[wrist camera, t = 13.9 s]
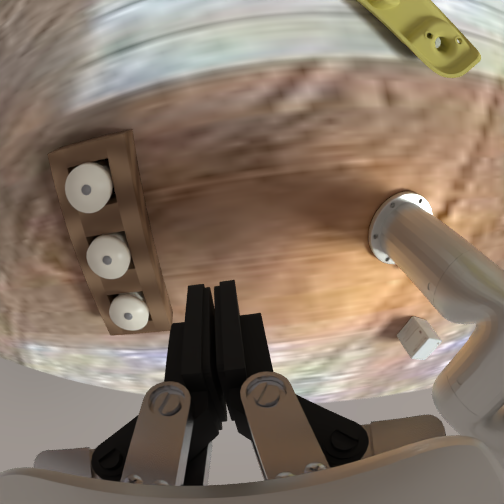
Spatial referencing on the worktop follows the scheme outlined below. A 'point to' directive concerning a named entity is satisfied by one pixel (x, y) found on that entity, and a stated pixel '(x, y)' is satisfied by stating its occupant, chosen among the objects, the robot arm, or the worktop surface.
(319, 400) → the worktop surface
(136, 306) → the knob
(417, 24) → the plastic component
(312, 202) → the worktop surface
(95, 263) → the knob
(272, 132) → the worktop surface
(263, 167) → the worktop surface
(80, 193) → the knob
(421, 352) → the product box
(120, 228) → the mount
